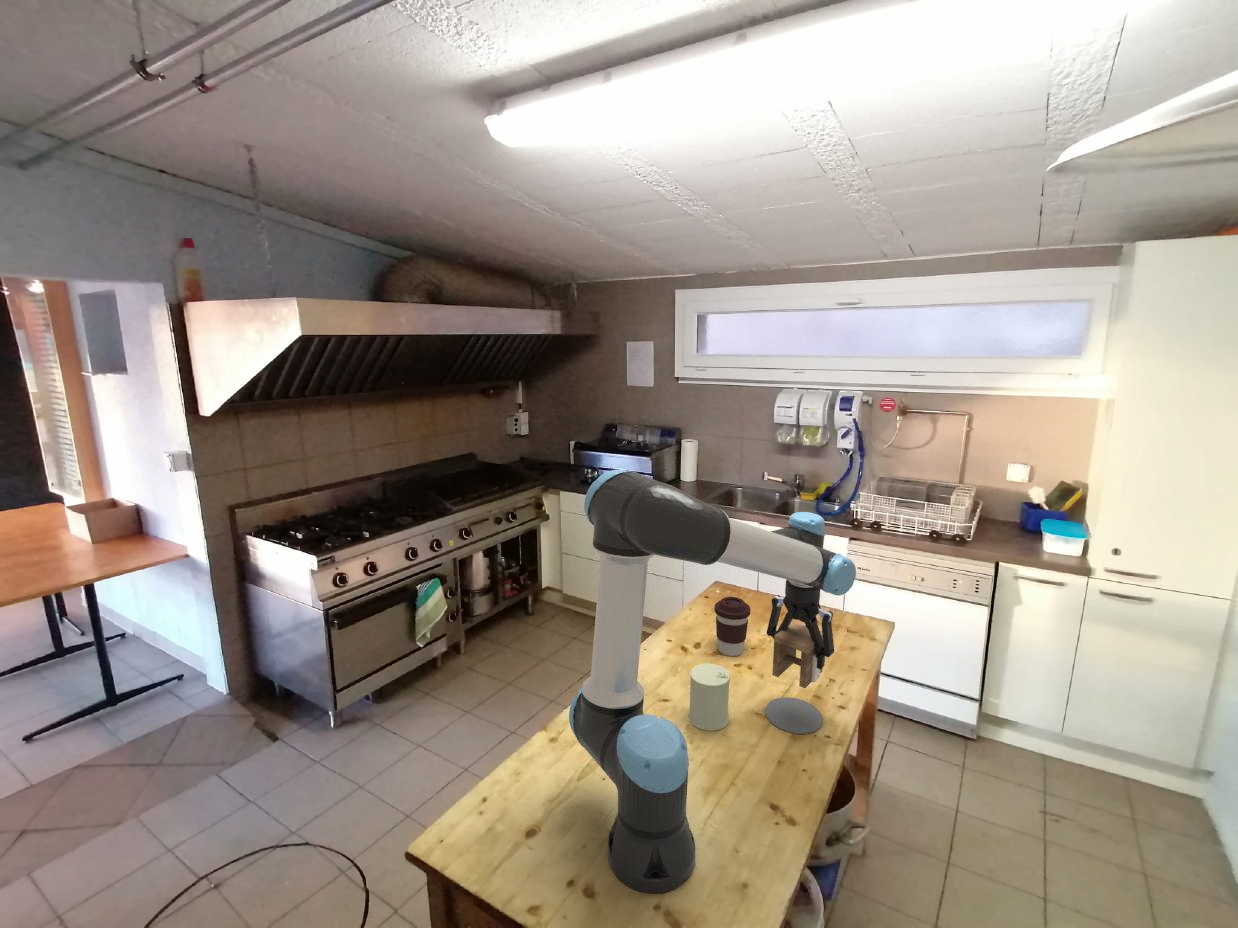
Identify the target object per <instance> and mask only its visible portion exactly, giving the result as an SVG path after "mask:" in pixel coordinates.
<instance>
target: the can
mask: <svg viewBox="0 0 1238 928" xmlns="http://www.w3.org/2000/svg"><path fill="white" fill-rule="evenodd" d="M689 674H690V677H689V678H690V683H689V684H690V685H689V713H688V719H689V721H690V723H691V724H692V725H693V726H694V727H696V728H698V729H700V730H703V731H708V732H710V731H711V732H714V731H718V730H719V731H720V730H722V729H724V728H725V727H726V726H727V725H728V724H729V700H730V699H729V697H730V696H729V695H730V680H731V675H730V674H731V673H730V672H729V670H727V669H726V668H725V667H723V666H721V665H719V664H715V663H700V664H697V665H695V666H693V667H692V668H691V669H690V671H689Z"/></svg>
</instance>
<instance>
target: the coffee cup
mask: <svg viewBox="0 0 1238 928" xmlns="http://www.w3.org/2000/svg"><path fill="white" fill-rule="evenodd" d="M714 613H715V614H716V616H715V625H716V627H715V631H716V639H717V650H718V652H720V653H721V654H723V655H725V656H727V657H738V656H740V655H742V654H743V653H744V650H745V642H746V640H747V632H748V624H749V620H748V619H749V616H751V607H750V605H749V604H748V603H746V602H745V600H743V599H742V598H740V597H737V596H726V597H723V598H721V599H720V600H718V601H717V602H716V603H715V604H714Z"/></svg>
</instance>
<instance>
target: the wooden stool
mask: <svg viewBox="0 0 1238 928" xmlns="http://www.w3.org/2000/svg"><path fill="white" fill-rule="evenodd" d="M820 633H821V636H822V639H823V634H822V630H820ZM797 651H800V652H801V654H800V658H799V657H797ZM815 653H816V651H815V648H814V642H813V641H812V639H811V636H810V633H809V630H808V628H807V627H806V625H805V624H801V623H799V622H795V621H793V620H792V621H791V623H790V625H789V627H788V628H786V629H785V630H784V631H782V630H781V631H780V632H778V633H777V634H776V635H775V636H774V639H773V652H772V654H773V655H772V656H773V657H772V676H773V677H776V678H779V677H780V676H781V675H782V674H784V673H785V672H786V671H787V670H788V669H789V668H790V667H791V666H792V665H796V666H799V667H800V668H799V681H798V682H799V683H798V684H799V687H801V688H803V689H806V688H807V687H809V685H811V683H812V682H811V680H812V665H813V655H814V654H815ZM822 672H823V668H822V669H820V674H821V673H822Z"/></svg>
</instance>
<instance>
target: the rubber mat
mask: <svg viewBox="0 0 1238 928" xmlns="http://www.w3.org/2000/svg"><path fill="white" fill-rule="evenodd" d="M764 714H765V716H766V719H767V721H768V722H769V723H771V725H773V726H774V727H775V728H777V729H779V730H781V731H784V732H787V733H790V734H795V735H810V734H812V733H816V732H817V731H819V730H820V729H821V728H822V726H823V721H824V719H823V715H822V713H821V712H820V710H819V709H818V708H817V707H816V706H815V705H813V703H812V704H811V703H809V702H808V701H805V700H803V699H799V698H797V697H796V698H795V697H789V696H788V697H778V698H774V699H772V700H770V701H769V702H768V703H767V704H766V705H765V712H764Z"/></svg>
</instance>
